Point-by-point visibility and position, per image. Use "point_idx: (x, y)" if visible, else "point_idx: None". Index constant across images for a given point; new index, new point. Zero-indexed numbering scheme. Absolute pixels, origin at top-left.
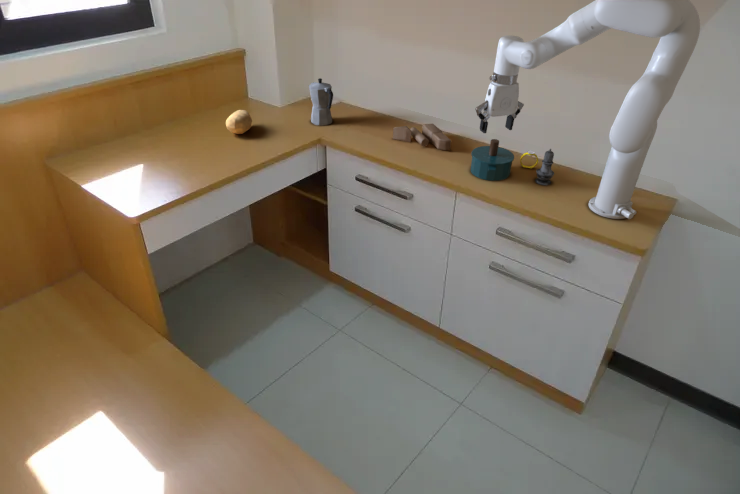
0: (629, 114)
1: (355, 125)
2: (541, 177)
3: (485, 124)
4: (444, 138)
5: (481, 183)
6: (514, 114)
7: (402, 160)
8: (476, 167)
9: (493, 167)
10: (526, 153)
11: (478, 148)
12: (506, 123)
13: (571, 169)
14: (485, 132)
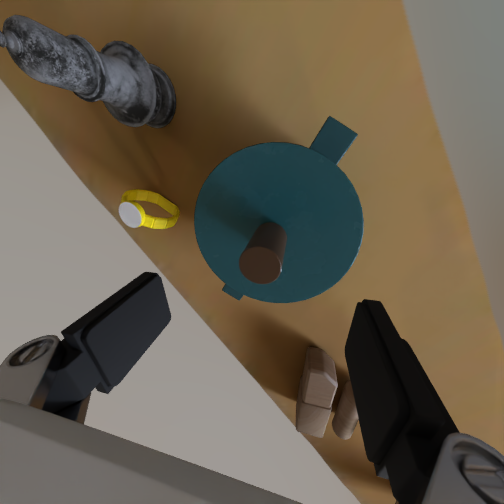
0: None
1: None
2: (150, 67)
3: (414, 384)
4: (321, 382)
5: (357, 149)
6: (4, 381)
7: (471, 359)
8: None
9: (322, 148)
10: (146, 219)
11: (292, 294)
12: (153, 333)
13: (62, 155)
14: (374, 303)
